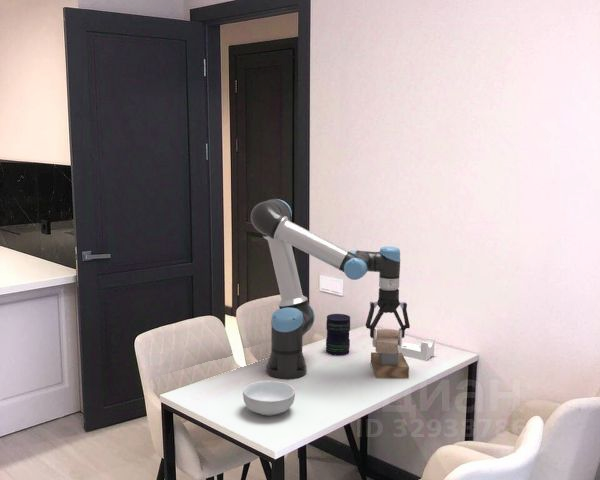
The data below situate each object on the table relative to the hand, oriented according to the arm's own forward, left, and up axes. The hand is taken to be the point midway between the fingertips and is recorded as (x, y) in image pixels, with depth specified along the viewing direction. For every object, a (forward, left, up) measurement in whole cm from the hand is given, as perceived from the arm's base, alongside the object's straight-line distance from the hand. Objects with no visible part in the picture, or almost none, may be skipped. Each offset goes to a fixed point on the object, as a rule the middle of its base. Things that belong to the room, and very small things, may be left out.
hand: (386, 345), depth 249 cm
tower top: (+1, 0, -5) cm, 5 cm away
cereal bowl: (-45, -36, -10) cm, 58 cm away
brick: (0, 0, -1) cm, 1 cm away
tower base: (+1, 0, -10) cm, 10 cm away
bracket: (+15, +18, -10) cm, 26 cm away
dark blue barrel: (-16, +22, -10) cm, 29 cm away
